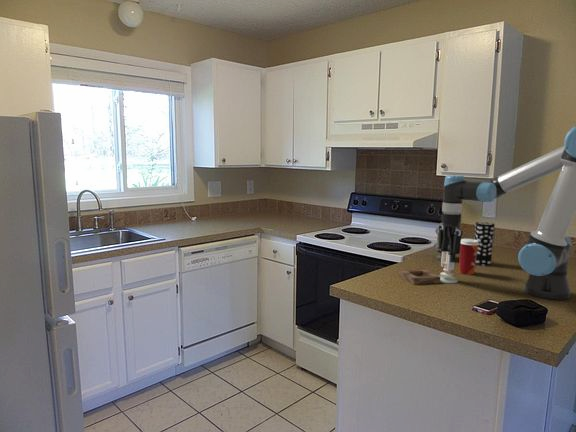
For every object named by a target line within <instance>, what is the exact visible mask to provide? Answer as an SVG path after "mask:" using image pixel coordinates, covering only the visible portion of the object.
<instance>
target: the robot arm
mask: <svg viewBox="0 0 576 432" xmlns="http://www.w3.org/2000/svg"><path fill="white" fill-rule="evenodd" d="M566 133H567V134H566V135H565V137H564V142H563V145H562V146H561V147H558V148H556V149H554V150H552V151H549V152H547V153H545V154H543V155H542V156H539V157H537V158H535V159H533V160H530V161H528V162H526V163H524V164H522V165H519V166H518V167H516V168H513V169H511V170H509V171H507V172H505V173H503V174H500V175H498V176H497V177H494V178H491V179H490V180H484V181H469V180H465V176H464V175H456V174H455V175H446V176H445V177H444V181H443V182H444V185H443V196H442V197H443V198H442V206H441V207H442V208H441V211H442V212H441V223H443V225H442V226H438V227H439V249H441V251H442V255H441V254H440V255H441V260H440V267H441V268H445V264H444V263H443V262H446V254H447V252H448V251H449V250H448V245H449V246H450V253H448V264H447V270H451V271H452V270H455V262H456V260H455V259H456V255H460V245H461V239H462V236H463V233H464V232H463V230H460V229H459V228H460V227H459V224H460V223H462V214H461V213H462V212H463V210H462V209H463V202H464V201H474V202H475V201H476V202H482V203H492V202H493V201H494V200H496V199H498V198H500V197H502V196H503V195H506V194H507V193H510V192H512V191H514V190H518V189H519V188H521V187H524V186H526V185H528V184H531V183H533V182H536V181H538V180H540V179H542V178H544V177H547V176H549V175H552V174H553V173H556V172H557V173H558V172H559V171H560V172H559V175H558V178H557V180H556V182H555V185H554V187H553V190H552V192H551V195H550V197H549V198H548V202H547V204H546V207H545V209H544V212H543V214H542V217H541V219H540V222H539V223H538V227H537V229H536V230H533V231H531V232H530V233H529V236H528V237H527V241H526V243H525V245H524V246H523V247H521V249H520V250H519V252H518V255H517V259H518V264H519V266H520V267H521V269H523V270H524V272H526V273H528V274H529V276H528V278H527V281H526V282H525V283H524V288H523V289H524V292H526V293H527V294H529V295H532V296H535V297H538V298H543V299H547V300H548V299H549V300H558V301H561V300H569V299H570V298H571V293H572V292H571V291H572V290H571V289H570V287H569V286H570V285H569V281H568V271H569V270H568V269H569V262H570V256H571V255H570V253H571V248H572V241H571V240H572V239H571V238H570V237H569V236H566V235H567V233H568V231H569V228H570V226H571V223H572V221H573V219H574V216H575V214H576V125H575V126H573V127H572V128H571V129H570V130H568V131H567V132H566ZM463 200H464V201H463ZM441 245H442V246H441ZM452 251H453V252H452Z"/></svg>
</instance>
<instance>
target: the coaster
mask: <svg viewBox="0 0 576 432" xmlns="http://www.w3.org/2000/svg"><path fill="white" fill-rule="evenodd" d="M438 276H439V277H440V283H442V284H443V283H444V284H456V283H458V282H459V279H458V278H456V277H455V276H452V277H445V276H442V275H438Z"/></svg>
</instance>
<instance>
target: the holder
mask: <svg viewBox="0 0 576 432" xmlns="http://www.w3.org/2000/svg"><path fill="white" fill-rule="evenodd" d="M439 276H440V275H437V274H436V273H433V272H431V271H429V270H427V269H425V268H422V269H421V268H418V269H417V268H416V269H401V270H399V277H401V278H403V279H404V280H405V281H407V282H409V283H411V284H412V285H426V284H427V283H428V284H440V283H441V282H440V277H439ZM428 284H427V285H428Z"/></svg>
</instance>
